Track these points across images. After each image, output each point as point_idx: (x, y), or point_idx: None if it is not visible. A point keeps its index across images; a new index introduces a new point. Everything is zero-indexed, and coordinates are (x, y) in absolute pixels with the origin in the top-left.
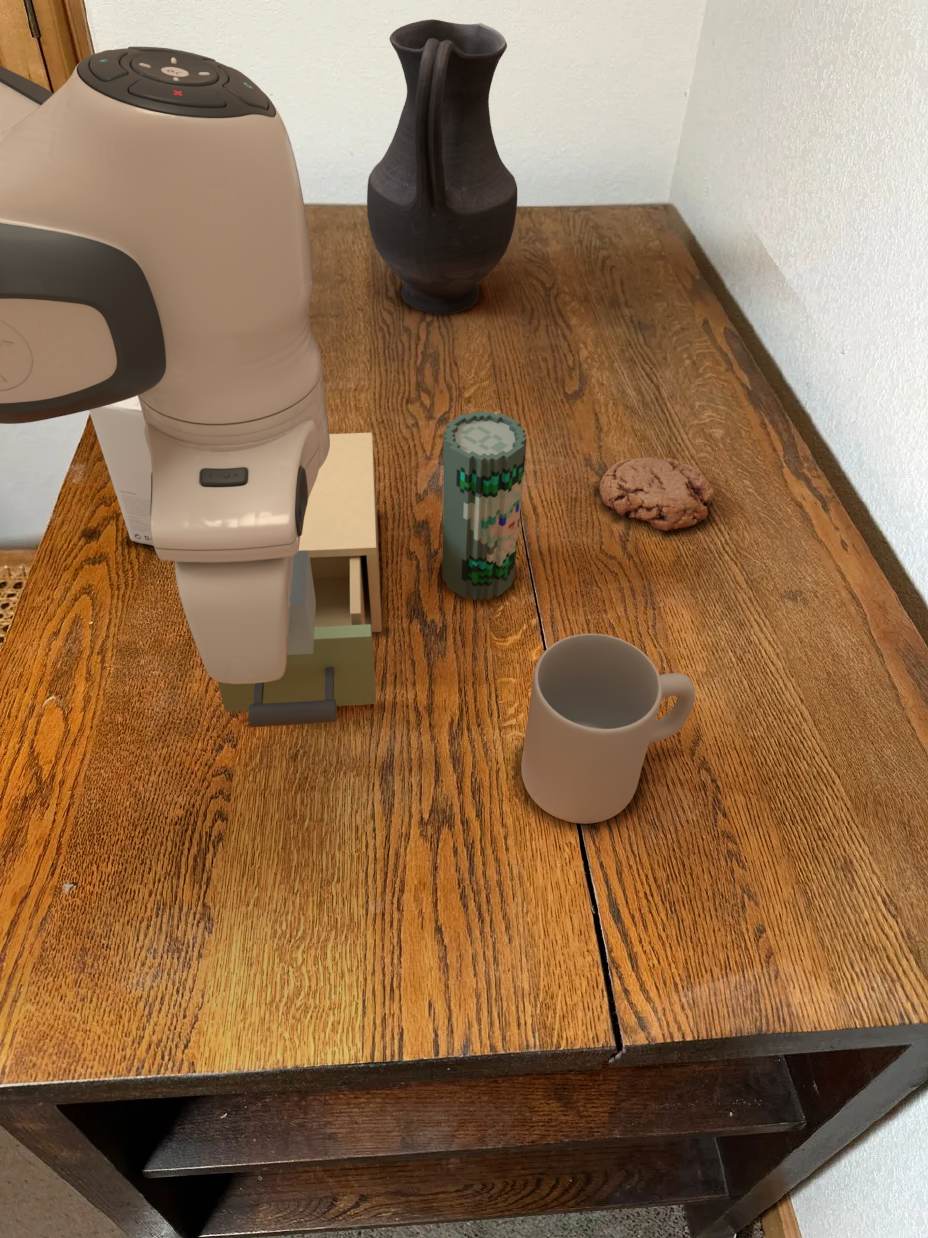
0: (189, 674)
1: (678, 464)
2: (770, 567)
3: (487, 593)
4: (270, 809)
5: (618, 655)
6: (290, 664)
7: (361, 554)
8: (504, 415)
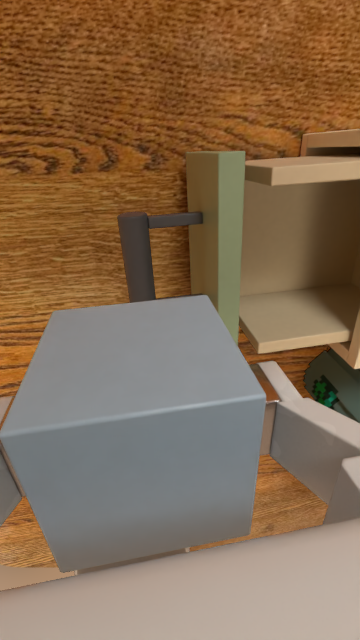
0: (255, 86)
1: None
2: (294, 519)
3: (307, 384)
4: (68, 220)
5: (174, 551)
6: (205, 261)
7: (351, 347)
8: None
